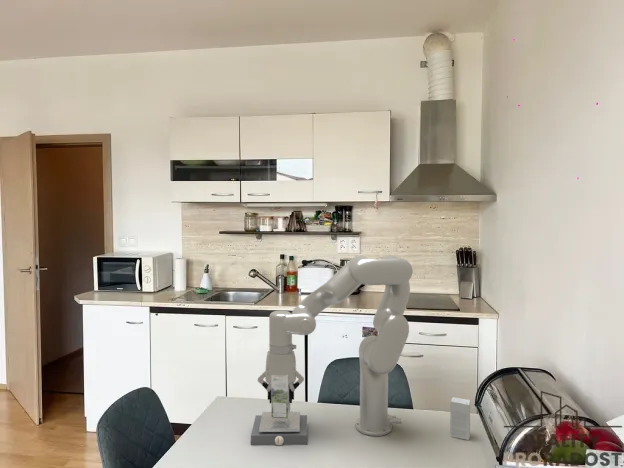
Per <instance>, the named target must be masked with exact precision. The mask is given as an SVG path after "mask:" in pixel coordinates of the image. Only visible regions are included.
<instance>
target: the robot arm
mask: <svg viewBox="0 0 624 468" xmlns="http://www.w3.org/2000/svg"><path fill="white" fill-rule="evenodd" d="M413 271H414V270H413V266H412V264H411V263H410V262H409V261H408V260H407V259H405V258H402V257H399V256H396V255H385V256H383V257H382V258H368V257H365V256H363V255H362V256H361V255H357V256H355V257H353V258H351V259H350V260H349V261H347V263H345V264H344V265H343V266H342V267H341V268H340V269H339V270H338V271H337V272H336V273H334V274H333V276H331V278H330V279H328V280H327V281H326V282H325V283H323V284H321V286H319V287H318V288H316V289H315V290H313V291H312V292H310V294H308V295H307V296H306V297H305V298H304V299H302V301H301V302H300V303H298V304H297V305H296V306H295V308H293V310H292V312H290V311H287V310H275V311H272V312H271V313H270V314H269V318H268V320H269V324H268V325H269V326H268V328H269V332H268V333H269V335H268V336H269V343H268V346H269V350H268V351H267V352H266V358H265V360H266V361H265V370H264V371H263V372H262V374H261V375H260V376H259V377H258V378H257V382H258V383H259V384H260V385H261V386H262V387H263V388H264V389H265V390H266V392H267V401H269V404H271V375H288V377H289V386H290V404H292V403H293V400H295V391H296V389H297V388H298V387H299V386H300V385H301V384H302V383H303V382H304V381H305V377H304V376H303V375H302V374H301V373H300V372H299V371H298V370H297V363H296V361H297V359H296V354H295V351H294V350H297V344H294V343H293V335H299V336H308V335H311V334H312V333H314V331H315V330H316V327H317V321H316V319H315V318H316V317H317V316H318V315H319V314H320V313H321V312H322V311H324V310H326V309H327V308H328V307H330V306H334V305H338V304H341V303H343V302H344V301H345V300H346V299H347V298H348V297H349V296H350V295H352V294H353V293H354V291H356V290H357V289H358V288H360V286H361V285H366V286H384V291H383V292H384V293H383V295H382V297H381V300H380V302H379V305H378V308H377V309H376V312H375V314H374V317H373V320H372V321H373V322H372V324H373V328H374V329H375V331H376V332H377V333H378V334H377V335H374V334H373V335H367V336H366V337H364V338H363V339H362V340H361V342H360V344H359V347H358V357H359V372H360V373H359V375H360V377H359V379H360V380H359V418H358V419H356V420H355V423H354V424H355V425H354V426H355V428H356V430H357V431H358V432H360V433H361V434H364V435H366V436H371V437H372V436H375V437H381V436H385V435H388V434H390V432H391V431H392V430H393V424H396V425H400V424H402V423H403V422H402V421H403V420H402V418H401V417H397V415H396V414H392V415H391V414H389V412H388V411H389V410H388V407H389V402H388V401H389V398H388V397H389V373H390V372H392V371H393V370H394V369H395V367H396V366H397V365H398V363H399V360H400V357H401V354H402V353H403V350H404V347H405V345H406V343H407V340H408V337H409V334H410V324H409V322H408V319H407V318H406V317H405V316H404V313H405V311H406V307H407V305H408V302H409V300H410V295H411V286H410V280H411V278H412V276H413ZM264 379H265V380H264ZM296 379H297V380H296Z"/></svg>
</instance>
